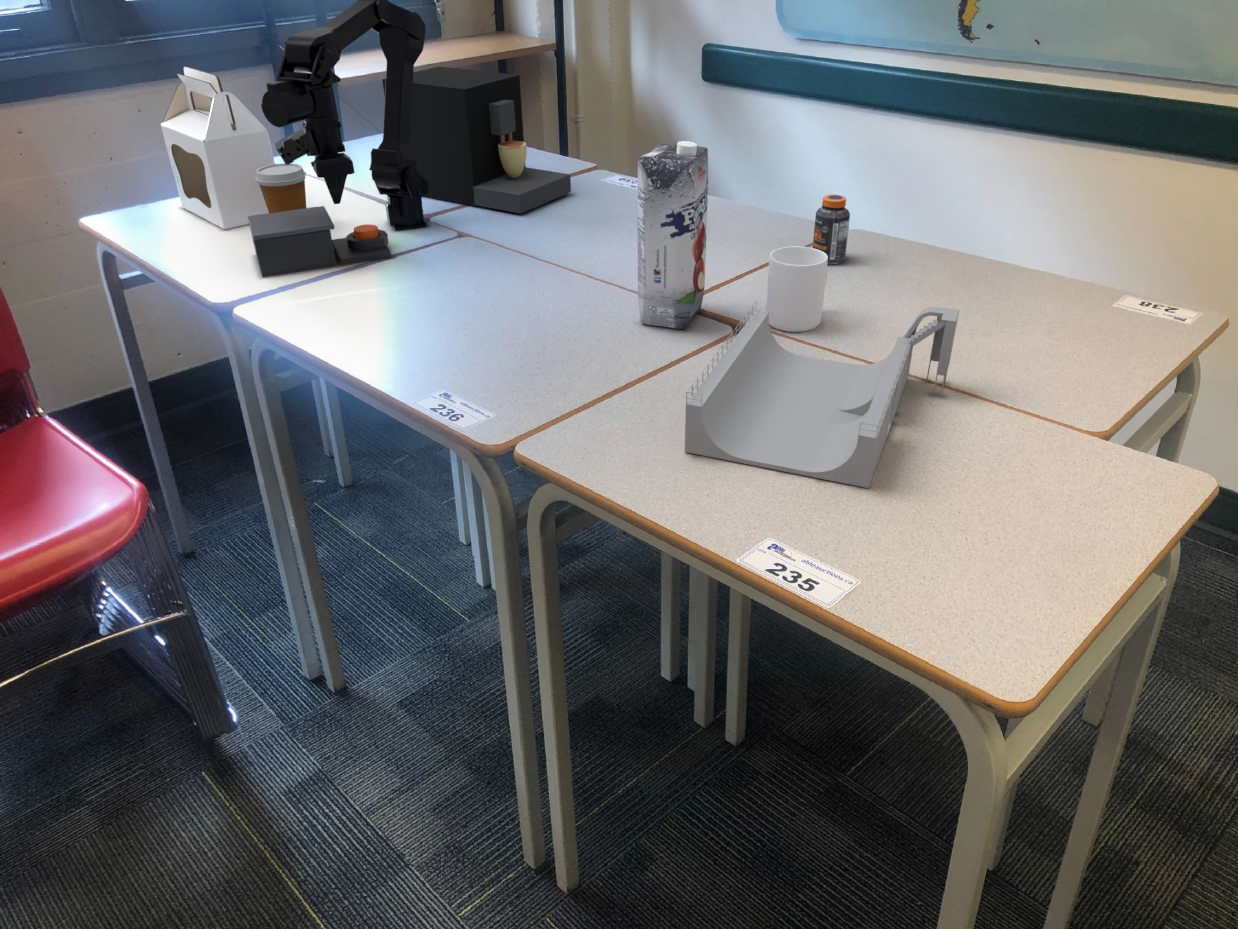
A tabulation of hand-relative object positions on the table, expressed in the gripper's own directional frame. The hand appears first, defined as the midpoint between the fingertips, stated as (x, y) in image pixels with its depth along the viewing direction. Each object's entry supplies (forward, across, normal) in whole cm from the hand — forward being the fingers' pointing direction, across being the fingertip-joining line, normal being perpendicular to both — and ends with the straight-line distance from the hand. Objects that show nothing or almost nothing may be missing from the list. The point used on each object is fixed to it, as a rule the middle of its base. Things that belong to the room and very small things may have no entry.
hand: (336, 203), depth 173 cm
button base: (+10, 0, +3) cm, 10 cm away
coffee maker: (+10, -28, +34) cm, 45 cm away
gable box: (+10, -37, -18) cm, 42 cm away
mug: (+10, +61, +61) cm, 87 cm away
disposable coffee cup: (+10, -19, -8) cm, 23 cm away
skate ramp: (+9, +89, +48) cm, 102 cm away
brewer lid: (+3, 0, -9) cm, 9 cm away
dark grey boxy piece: (+9, 0, -9) cm, 13 cm away
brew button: (+7, 0, +4) cm, 8 cm away
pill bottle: (+10, +40, +80) cm, 90 cm away
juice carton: (+10, +52, +43) cm, 68 cm away
